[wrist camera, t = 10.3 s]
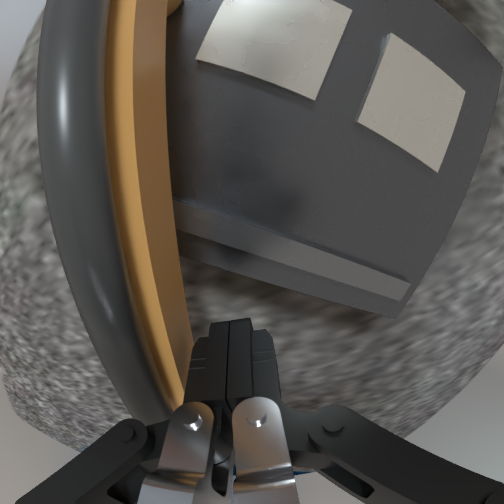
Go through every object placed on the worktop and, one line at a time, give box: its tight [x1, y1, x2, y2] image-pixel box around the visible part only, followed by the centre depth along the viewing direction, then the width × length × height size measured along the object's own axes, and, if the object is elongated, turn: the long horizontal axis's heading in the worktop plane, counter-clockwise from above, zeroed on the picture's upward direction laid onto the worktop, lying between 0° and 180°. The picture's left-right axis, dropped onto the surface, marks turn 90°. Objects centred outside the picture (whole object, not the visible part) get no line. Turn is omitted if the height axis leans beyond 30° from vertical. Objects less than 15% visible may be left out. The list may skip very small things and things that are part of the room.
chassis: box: [165, 0, 503, 319], centre depth 11 cm, size 18×20×3 cm
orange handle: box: [36, 0, 194, 426], centre depth 8 cm, size 3×18×7 cm, turn 1°
